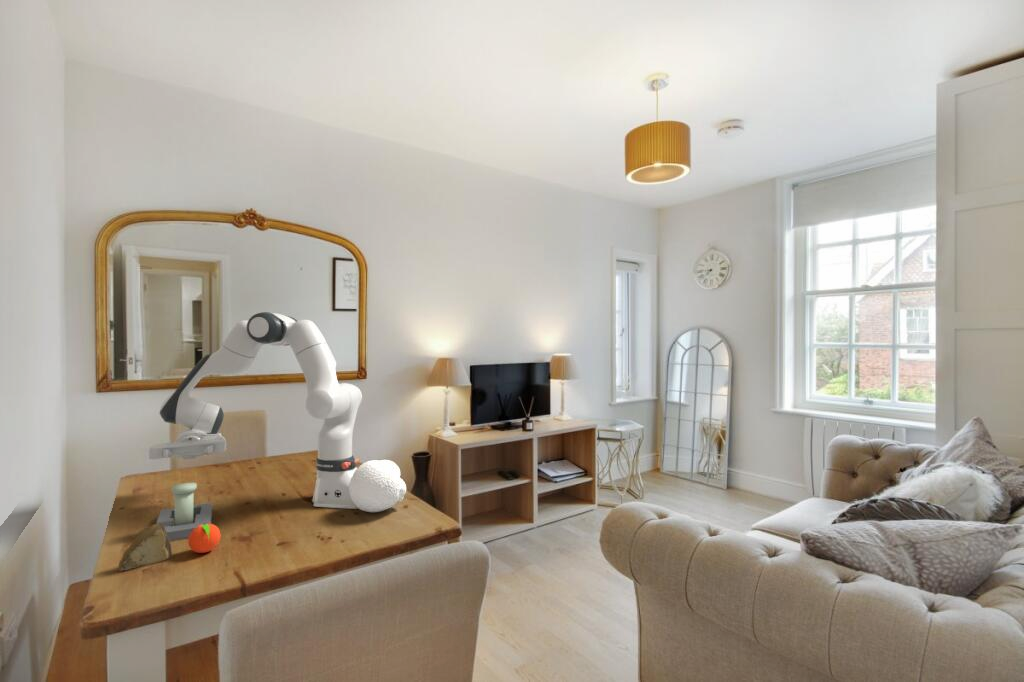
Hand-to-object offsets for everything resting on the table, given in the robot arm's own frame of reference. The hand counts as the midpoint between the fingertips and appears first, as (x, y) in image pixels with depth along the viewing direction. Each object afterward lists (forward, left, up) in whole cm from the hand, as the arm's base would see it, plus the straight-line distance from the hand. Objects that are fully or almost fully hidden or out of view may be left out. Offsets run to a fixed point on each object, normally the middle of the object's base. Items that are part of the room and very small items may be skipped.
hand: (188, 452), depth 145 cm
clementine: (-28, +16, -20) cm, 38 cm away
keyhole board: (-6, +5, -19) cm, 21 cm away
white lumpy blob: (-50, -25, -20) cm, 59 cm away
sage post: (-9, +8, -19) cm, 23 cm away
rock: (-20, +25, -20) cm, 38 cm away
